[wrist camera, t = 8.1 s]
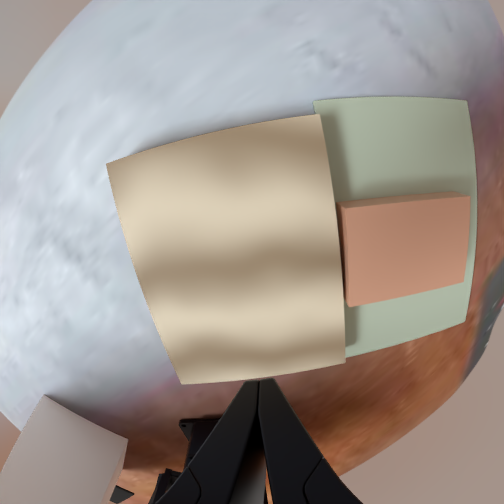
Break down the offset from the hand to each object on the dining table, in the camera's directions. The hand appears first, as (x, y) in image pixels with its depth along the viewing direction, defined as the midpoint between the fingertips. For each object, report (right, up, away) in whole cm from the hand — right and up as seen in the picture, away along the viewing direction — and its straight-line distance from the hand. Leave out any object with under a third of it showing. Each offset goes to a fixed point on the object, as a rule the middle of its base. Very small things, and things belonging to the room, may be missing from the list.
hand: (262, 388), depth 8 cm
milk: (-23, -21, +20) cm, 36 cm away
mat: (+11, +5, +10) cm, 15 cm away
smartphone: (-28, -43, +28) cm, 58 cm away
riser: (-1, +3, +11) cm, 11 cm away
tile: (+10, +5, +9) cm, 14 cm away
